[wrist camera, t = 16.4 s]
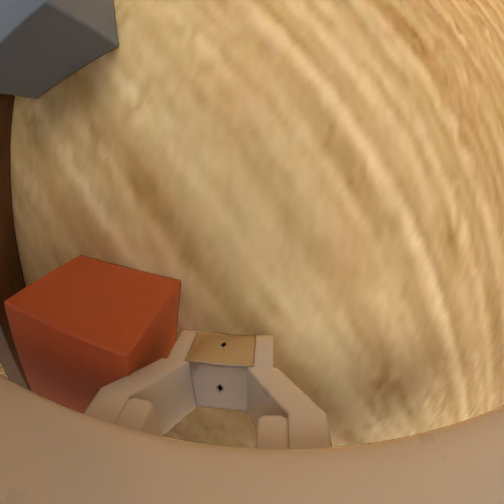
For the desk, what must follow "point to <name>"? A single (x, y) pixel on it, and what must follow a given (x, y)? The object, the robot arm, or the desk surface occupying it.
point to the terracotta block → (91, 327)
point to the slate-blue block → (51, 41)
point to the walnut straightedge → (8, 252)
